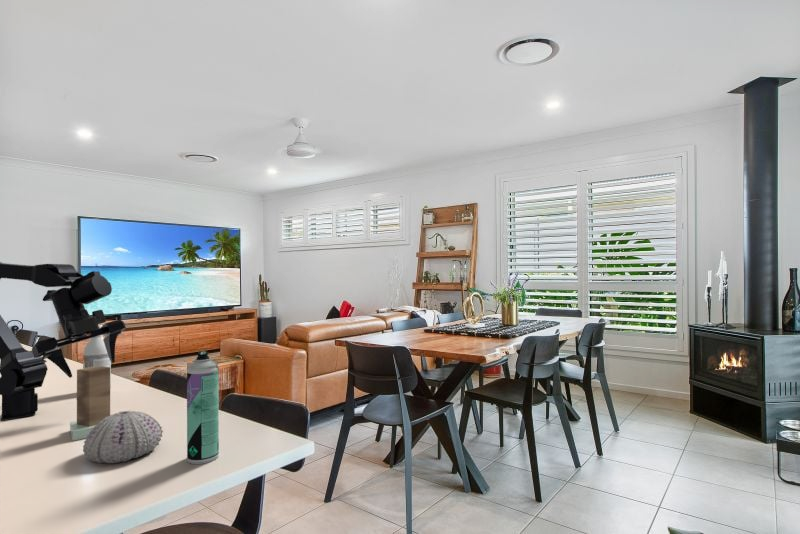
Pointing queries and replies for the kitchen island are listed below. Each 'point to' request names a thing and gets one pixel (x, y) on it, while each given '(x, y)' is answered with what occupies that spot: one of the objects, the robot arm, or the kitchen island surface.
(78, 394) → the walnut block
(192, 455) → the spray can
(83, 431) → the green plinth
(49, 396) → the kitchen island surface
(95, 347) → the bath foam
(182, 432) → the kitchen island surface
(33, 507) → the kitchen island surface
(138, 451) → the sea urchin shell
